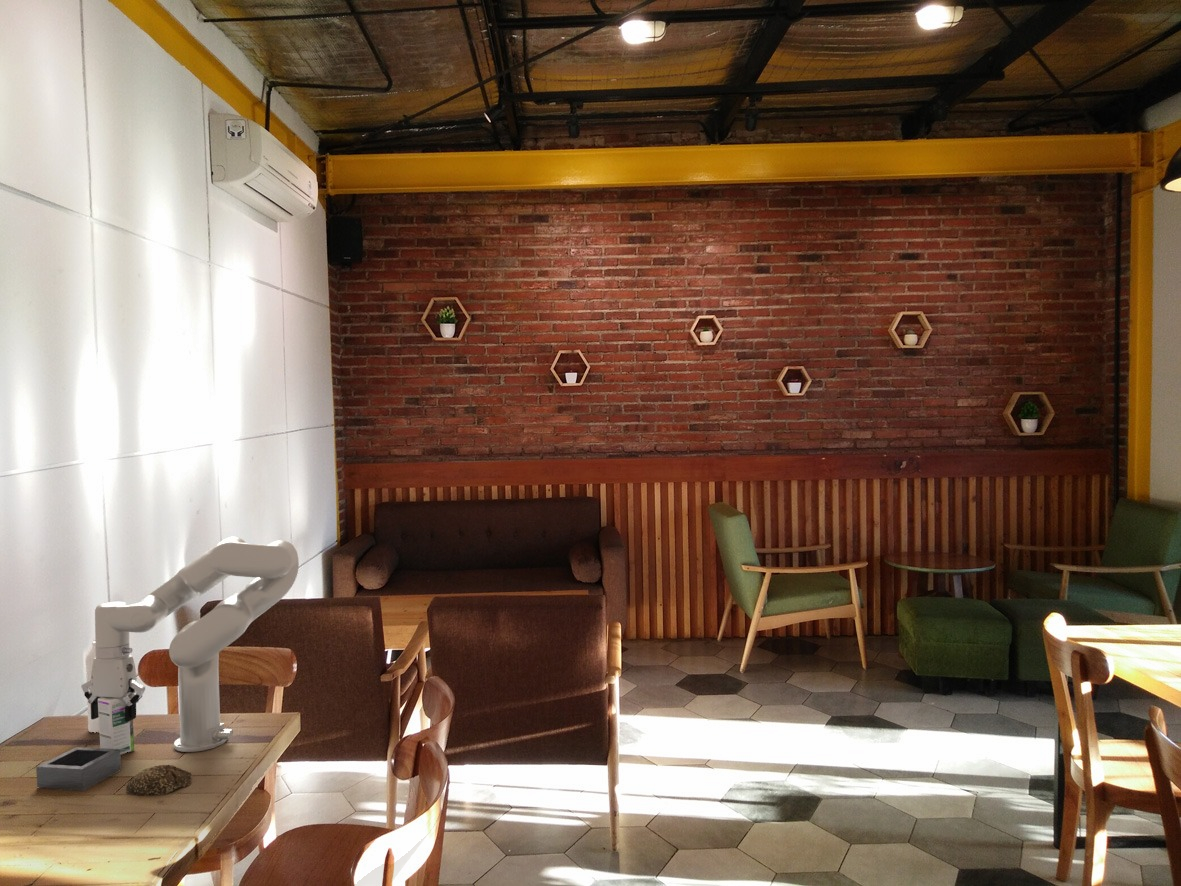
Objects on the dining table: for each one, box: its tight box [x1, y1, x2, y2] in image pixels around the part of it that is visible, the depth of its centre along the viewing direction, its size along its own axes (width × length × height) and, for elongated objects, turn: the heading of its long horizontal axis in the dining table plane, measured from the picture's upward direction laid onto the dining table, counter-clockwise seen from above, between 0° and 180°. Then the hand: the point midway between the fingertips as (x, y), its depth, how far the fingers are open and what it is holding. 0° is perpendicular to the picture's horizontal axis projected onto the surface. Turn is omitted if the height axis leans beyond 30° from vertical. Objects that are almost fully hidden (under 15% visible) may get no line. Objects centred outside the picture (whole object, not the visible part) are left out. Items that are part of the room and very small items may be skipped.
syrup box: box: [98, 696, 135, 756], centre depth 220 cm, size 6×6×14 cm
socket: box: [35, 746, 122, 792], centre depth 204 cm, size 12×12×5 cm
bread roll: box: [125, 764, 192, 797], centre depth 199 cm, size 13×12×5 cm
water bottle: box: [85, 638, 99, 734], centre depth 236 cm, size 9×6×25 cm
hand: (113, 718), depth 220 cm, fingers open, 9 cm apart
